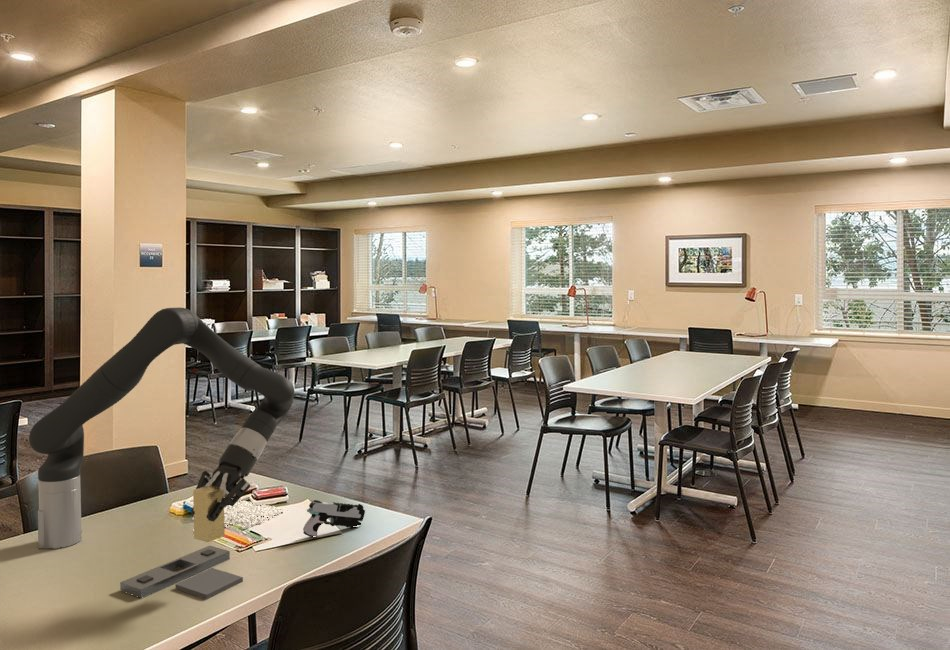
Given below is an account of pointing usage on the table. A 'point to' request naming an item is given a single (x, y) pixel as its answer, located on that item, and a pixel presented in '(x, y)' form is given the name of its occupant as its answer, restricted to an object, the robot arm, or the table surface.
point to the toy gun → (332, 515)
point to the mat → (209, 583)
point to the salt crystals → (248, 513)
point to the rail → (165, 576)
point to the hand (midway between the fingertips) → (202, 517)
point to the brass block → (202, 506)
